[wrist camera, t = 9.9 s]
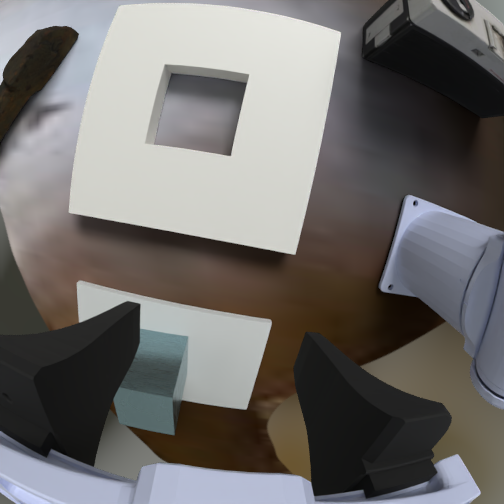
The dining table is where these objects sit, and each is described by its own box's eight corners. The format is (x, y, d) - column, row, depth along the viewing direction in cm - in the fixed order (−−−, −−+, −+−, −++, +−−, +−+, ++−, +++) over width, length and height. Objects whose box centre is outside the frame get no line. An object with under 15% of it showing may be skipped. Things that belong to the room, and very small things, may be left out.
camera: (482, 62, 16) (549, 46, 6) (477, 134, 18) (558, 135, 9) (371, -13, 14) (423, -70, 5) (355, 57, 17) (426, 1, 7)
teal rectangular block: (188, 336, 21) (172, 398, 15) (187, 373, 23) (174, 435, 16) (140, 328, 21) (110, 384, 14) (142, 365, 22) (119, 423, 15)
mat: (270, 319, 22) (271, 323, 21) (246, 405, 25) (246, 409, 24) (80, 280, 20) (76, 283, 20) (88, 370, 23) (86, 374, 22)
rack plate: (332, 42, 16) (341, 32, 14) (289, 246, 20) (295, 254, 18) (127, 16, 15) (119, 5, 13) (82, 208, 19) (68, 212, 17)
